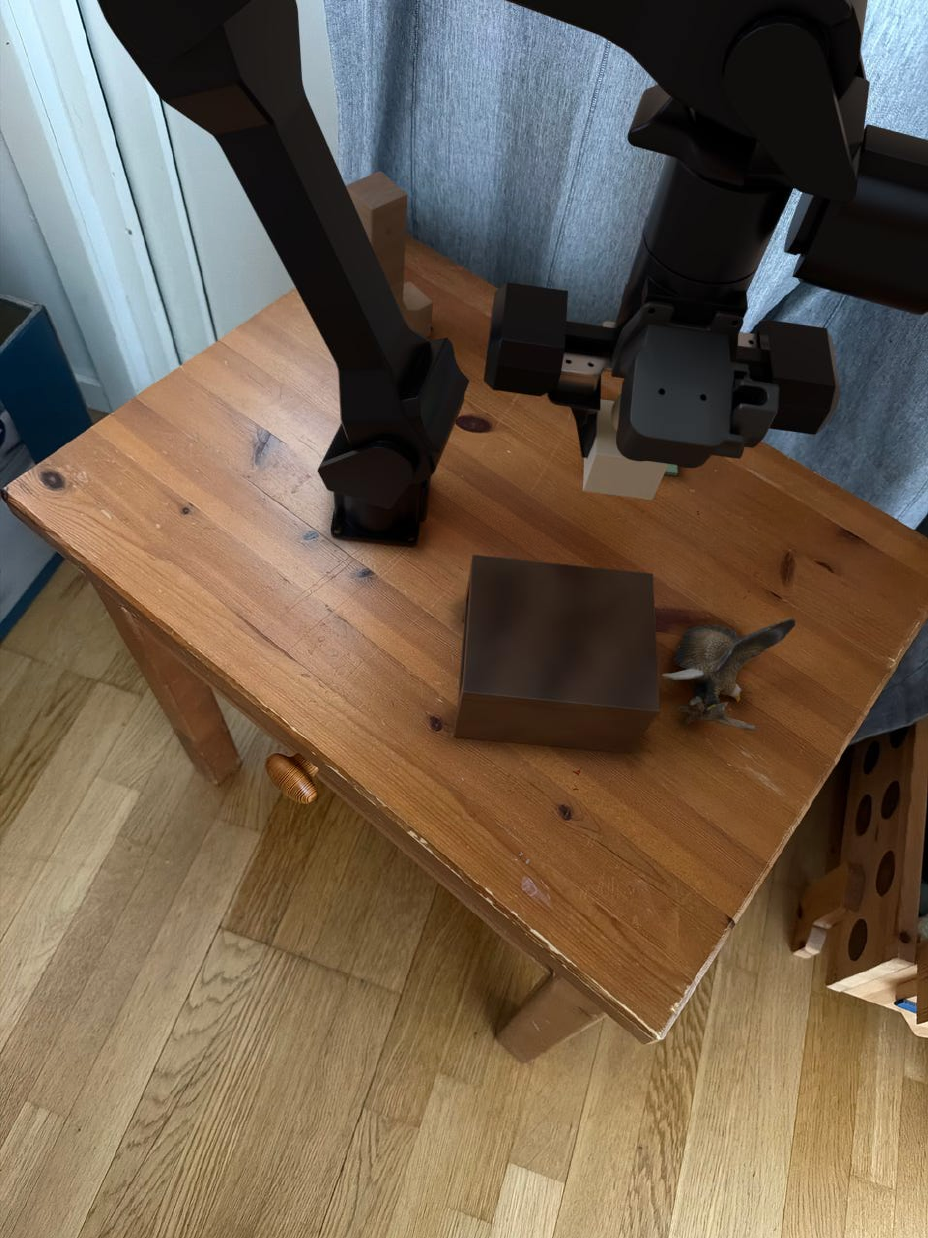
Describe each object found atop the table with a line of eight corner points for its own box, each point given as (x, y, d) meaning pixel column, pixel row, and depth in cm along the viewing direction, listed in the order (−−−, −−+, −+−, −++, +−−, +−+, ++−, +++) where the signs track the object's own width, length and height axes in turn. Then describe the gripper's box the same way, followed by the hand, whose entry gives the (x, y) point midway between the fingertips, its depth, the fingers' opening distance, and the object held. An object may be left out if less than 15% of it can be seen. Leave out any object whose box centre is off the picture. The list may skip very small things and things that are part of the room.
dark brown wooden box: (453, 737, 60) (462, 692, 54) (462, 608, 65) (472, 554, 59) (630, 754, 60) (660, 711, 54) (626, 625, 65) (653, 573, 59)
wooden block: (371, 367, 75) (372, 209, 62) (348, 344, 76) (343, 184, 64) (431, 336, 78) (444, 177, 65) (407, 314, 79) (415, 153, 66)
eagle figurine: (769, 757, 60) (811, 641, 63) (741, 709, 55) (788, 586, 57) (665, 730, 64) (709, 624, 67) (631, 684, 59) (679, 572, 62)
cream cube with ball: (582, 491, 56) (608, 414, 50) (584, 437, 58) (609, 357, 52) (652, 500, 56) (686, 425, 50) (651, 447, 58) (684, 368, 52)
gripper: (494, 334, 38) (460, 543, 52) (921, 395, 39) (778, 585, 52) (512, 174, 44) (478, 400, 57) (885, 230, 44) (764, 440, 58)
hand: (621, 457), depth 56 cm, fingers closed on cream cube with ball, 4 cm apart
